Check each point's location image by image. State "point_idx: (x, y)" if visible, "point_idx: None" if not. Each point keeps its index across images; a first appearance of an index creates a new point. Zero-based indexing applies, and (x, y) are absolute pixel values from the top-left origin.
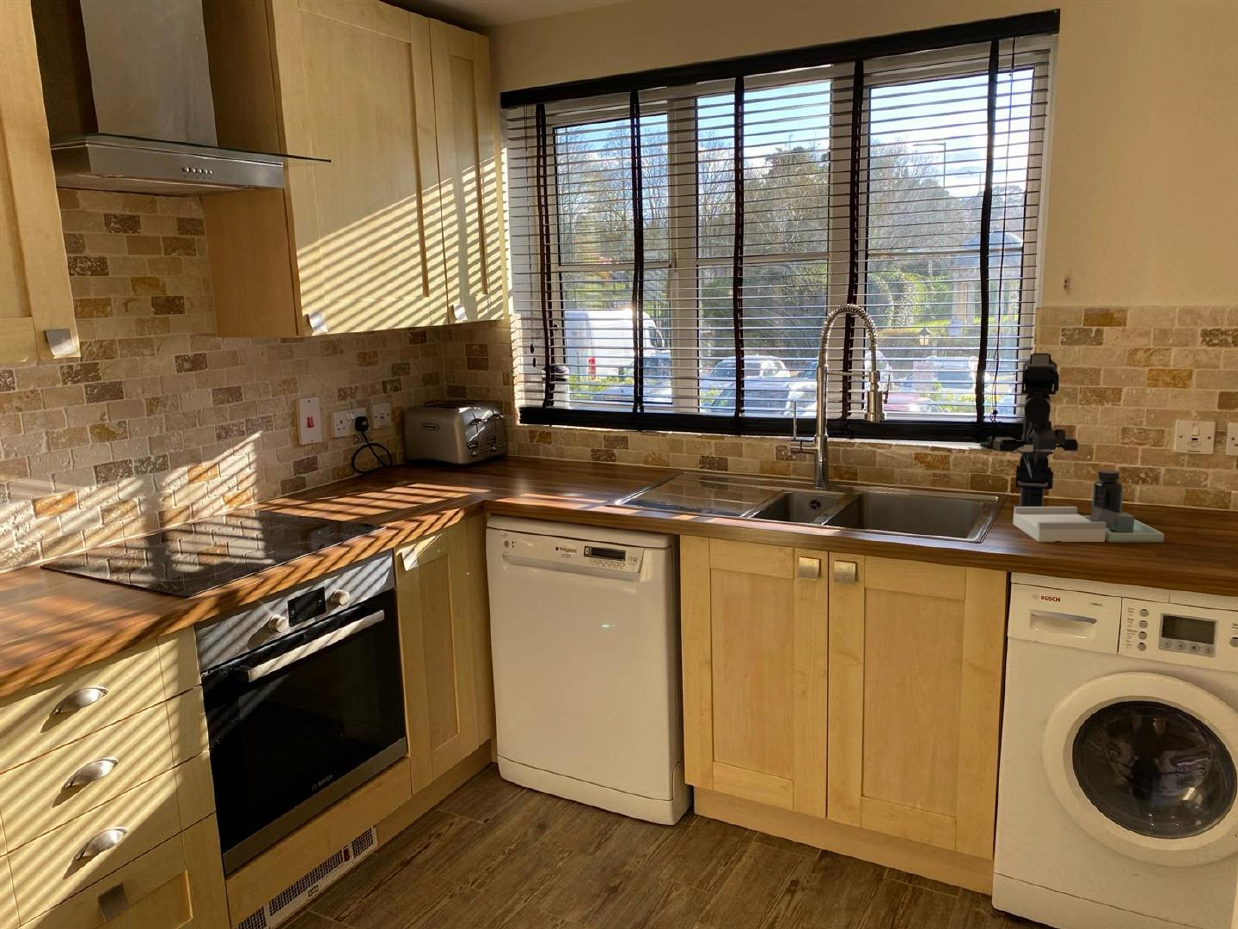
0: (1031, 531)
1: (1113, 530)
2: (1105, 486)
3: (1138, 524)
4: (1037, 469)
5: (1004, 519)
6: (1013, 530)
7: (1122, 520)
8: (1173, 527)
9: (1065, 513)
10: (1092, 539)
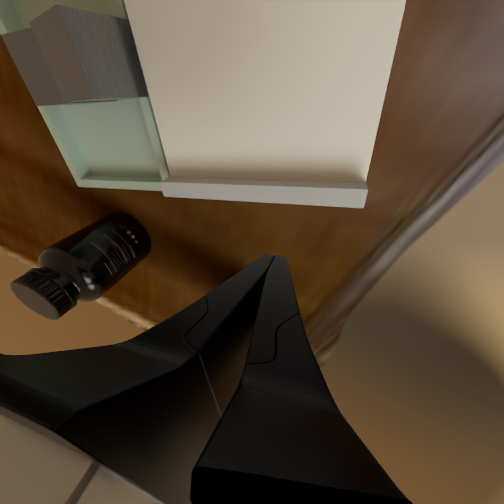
0: None
1: None
2: (68, 258)
3: None
4: (241, 281)
5: (352, 239)
6: (417, 83)
7: None
8: (18, 143)
9: (200, 177)
10: None
